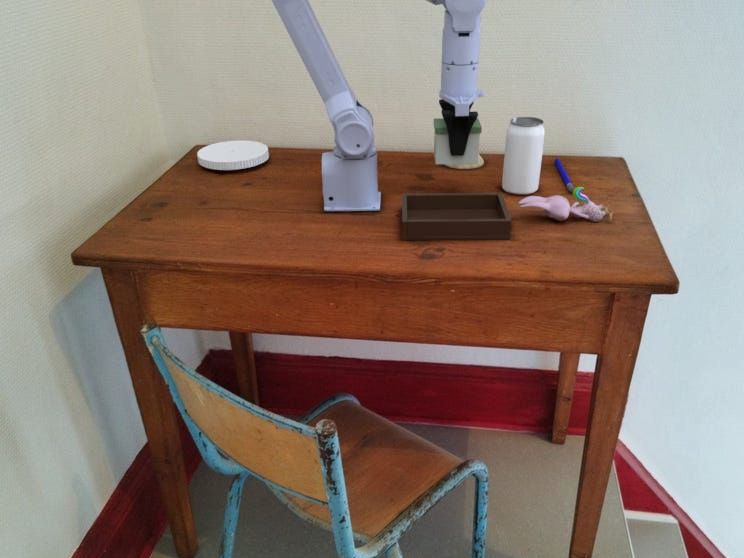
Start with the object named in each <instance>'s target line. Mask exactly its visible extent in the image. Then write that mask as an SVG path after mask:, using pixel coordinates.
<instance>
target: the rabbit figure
mask: <svg viewBox="0 0 744 558" xmlns="http://www.w3.org/2000/svg"><path fill="white" fill-rule="evenodd" d="M584 189H585V187H583V186H577V187H574V191H573V192H572V197H573V198H574V199H575V200H577V201H576V202H574V203H572V204H570V201H569V200H568V198H566V197H565V196H563V195H550V196H548V197H543V196H539V195H538V196H537V195H530V196H527V197H525V198H523V199H521V200H519V201H518V204H519V207H520V208H527V207H534V208H539V209H542V210H544V212H545V214H546V216H547V217H549V218H551V219H555V221H559V222H562V221H566V220H567V219H568V218H569V215H573V216H574V217H575V218H577V219H580V218H583V219H585V220H586V221H587V220H588V221H591V222H593V223H598V222H600V221H601V220H602V219H603V218H604V216H607V214H608V223H610V222H611V221H612V219H613V218H612V217H613V213H614V210H613V211H611V212H610V211H609V208H608V207H609V204H608V205H607V206H605V205H604V204H603V203H601V204H599V205H597V204H596V203H595V202H593V201H591V200H590V199H589V197H588V196H587V195H585V194H584V193H581V192H582V191H583V190H584ZM579 201H580V202H584V203H583V204H582V205H580V202H579ZM579 205H580V206H579ZM602 209H604V210H602Z"/></svg>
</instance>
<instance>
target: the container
mask: <svg viewBox="0 0 744 558" xmlns="http://www.w3.org/2000/svg"><path fill="white" fill-rule="evenodd" d="M433 129H434V138H433V139H434V140H433V142H434V143H433V157H434V163H435V165H444V164H478V156H479V155H480V141H481V139H480V138H481V134H482V129H483V126H482V124H481V121H480V119H479V117H477V119H476V121H475V122H474V124H473V126H472V129H471V131H470V134H469V138H468V142H467V146H466V150H465V153H464V156H451V153H450V148H449V138H448V131H447V126H446V123H445V121H444V118H443V117H442V118H433Z"/></svg>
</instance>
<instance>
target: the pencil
mask: <svg viewBox="0 0 744 558" xmlns="http://www.w3.org/2000/svg"><path fill="white" fill-rule="evenodd" d="M554 164H555V166H556V169H557V170H558V172H559V174H560V177H561V178H562V181H563V182H564V185H565V187H566V188H567V191H568V193H573V191H574V189H575V187H574V186H573V183H572V181H571V180H570V177H569V176H568V174H567V172H566V170H565V168H564V166H563V164H562V162H561V160H560V159H559V158H555V159H554Z"/></svg>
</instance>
